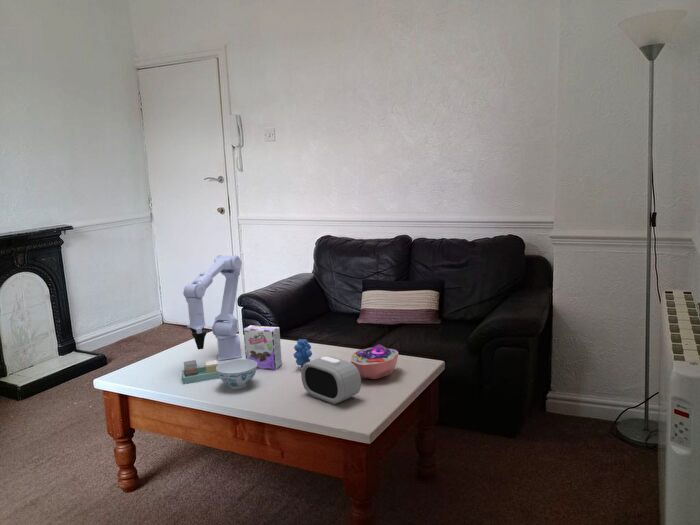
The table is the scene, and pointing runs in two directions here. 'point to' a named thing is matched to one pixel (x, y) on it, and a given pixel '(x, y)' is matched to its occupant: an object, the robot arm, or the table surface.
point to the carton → (211, 366)
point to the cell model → (375, 361)
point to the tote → (199, 376)
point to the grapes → (302, 352)
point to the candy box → (263, 346)
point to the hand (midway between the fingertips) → (199, 346)
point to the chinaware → (237, 372)
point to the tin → (190, 368)
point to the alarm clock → (331, 379)
